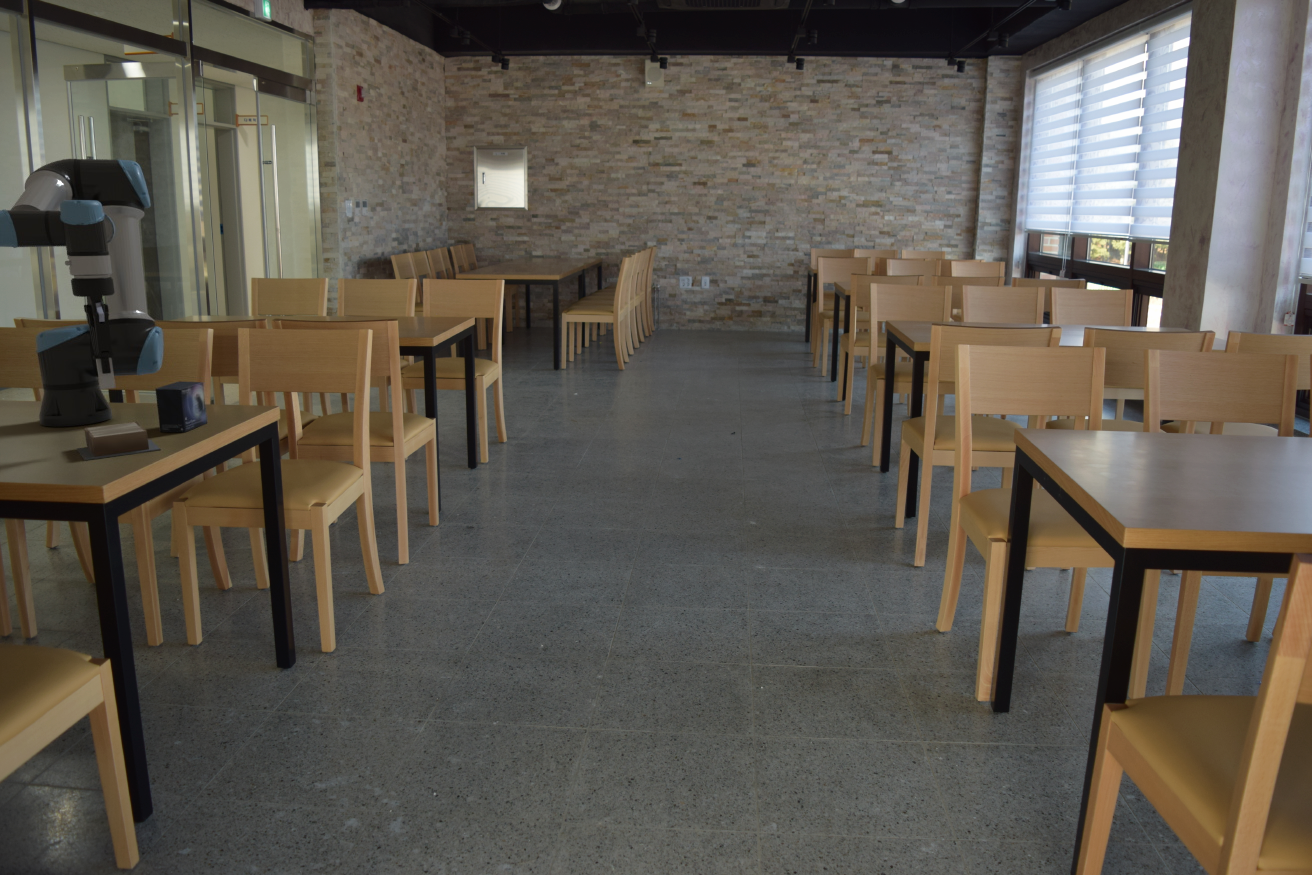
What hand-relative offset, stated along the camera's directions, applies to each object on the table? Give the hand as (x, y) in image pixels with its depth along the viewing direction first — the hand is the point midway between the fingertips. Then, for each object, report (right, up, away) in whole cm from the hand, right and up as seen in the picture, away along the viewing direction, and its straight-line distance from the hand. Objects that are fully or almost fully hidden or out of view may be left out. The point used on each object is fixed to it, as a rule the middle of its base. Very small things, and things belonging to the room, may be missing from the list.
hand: (107, 387), depth 194 cm
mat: (+2, -13, 0) cm, 13 cm away
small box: (+5, -9, +22) cm, 24 cm away
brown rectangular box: (-2, -10, +5) cm, 11 cm away
